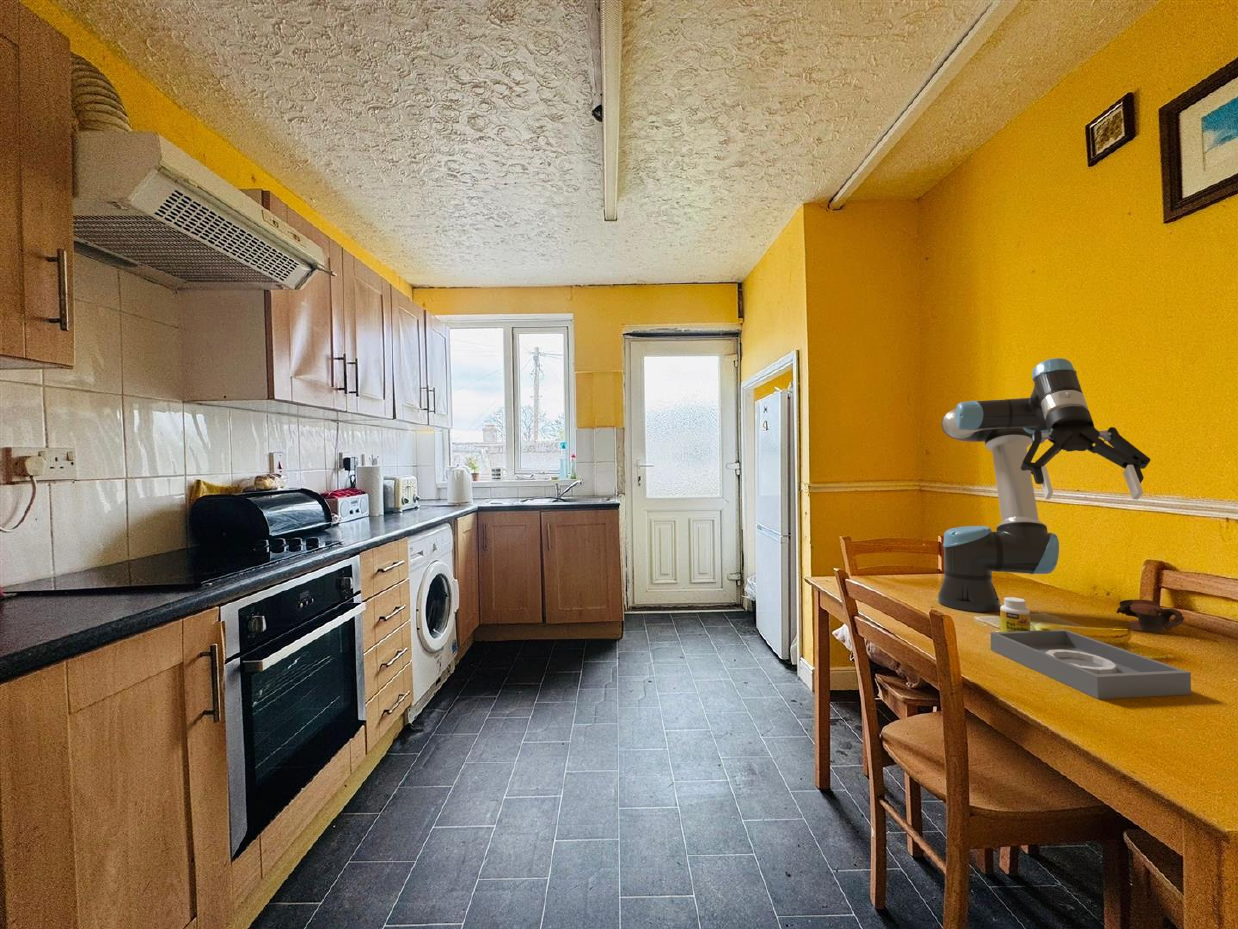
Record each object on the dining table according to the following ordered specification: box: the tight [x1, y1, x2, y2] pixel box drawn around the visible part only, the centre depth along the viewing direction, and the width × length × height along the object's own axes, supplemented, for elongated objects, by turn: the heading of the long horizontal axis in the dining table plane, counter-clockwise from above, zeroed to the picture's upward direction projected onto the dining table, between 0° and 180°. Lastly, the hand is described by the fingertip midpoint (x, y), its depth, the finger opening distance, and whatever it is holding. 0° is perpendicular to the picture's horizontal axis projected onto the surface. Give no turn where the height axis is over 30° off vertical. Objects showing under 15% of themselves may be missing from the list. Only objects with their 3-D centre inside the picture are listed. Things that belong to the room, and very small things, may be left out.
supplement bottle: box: [999, 596, 1031, 632], centre depth 118 cm, size 6×6×10 cm
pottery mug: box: [1116, 599, 1185, 635], centre depth 125 cm, size 12×10×8 cm
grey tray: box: [989, 628, 1192, 700], centre depth 102 cm, size 24×18×4 cm
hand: (1092, 496), depth 100 cm, fingers open, 13 cm apart
